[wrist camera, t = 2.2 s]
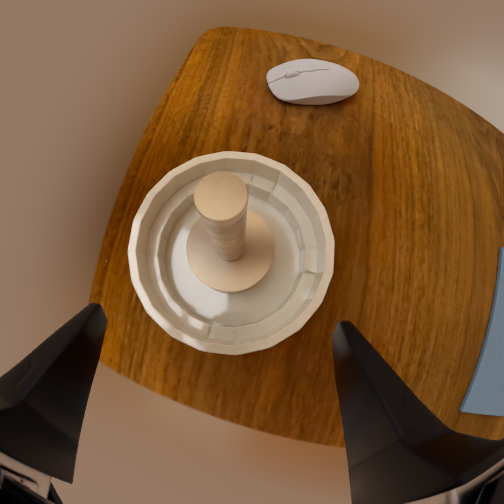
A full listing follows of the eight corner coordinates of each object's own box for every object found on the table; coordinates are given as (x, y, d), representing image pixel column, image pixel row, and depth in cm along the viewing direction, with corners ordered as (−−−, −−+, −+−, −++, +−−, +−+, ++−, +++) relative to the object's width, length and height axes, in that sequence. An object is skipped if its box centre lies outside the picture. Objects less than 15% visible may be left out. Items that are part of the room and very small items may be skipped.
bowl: (276, 368, 20) (285, 385, 15) (125, 298, 20) (98, 296, 16) (337, 217, 22) (358, 198, 18) (195, 158, 23) (186, 129, 18)
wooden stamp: (251, 305, 20) (266, 310, 8) (182, 274, 20) (112, 238, 8) (280, 238, 21) (325, 161, 9) (214, 209, 21) (188, 110, 9)
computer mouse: (261, 72, 25) (263, 52, 22) (342, 72, 26) (349, 55, 23) (274, 110, 24) (277, 89, 21) (361, 107, 25) (371, 90, 22)
